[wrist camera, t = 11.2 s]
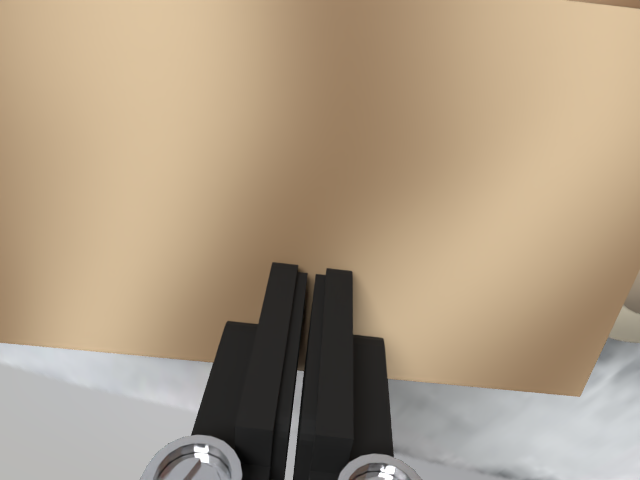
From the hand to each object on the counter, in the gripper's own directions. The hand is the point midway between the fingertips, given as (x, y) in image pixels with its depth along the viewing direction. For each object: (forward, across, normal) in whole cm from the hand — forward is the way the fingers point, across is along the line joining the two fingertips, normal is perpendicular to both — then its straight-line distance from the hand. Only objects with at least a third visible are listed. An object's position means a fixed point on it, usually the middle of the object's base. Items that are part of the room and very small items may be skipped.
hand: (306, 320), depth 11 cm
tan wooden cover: (+1, +1, -3) cm, 3 cm away
